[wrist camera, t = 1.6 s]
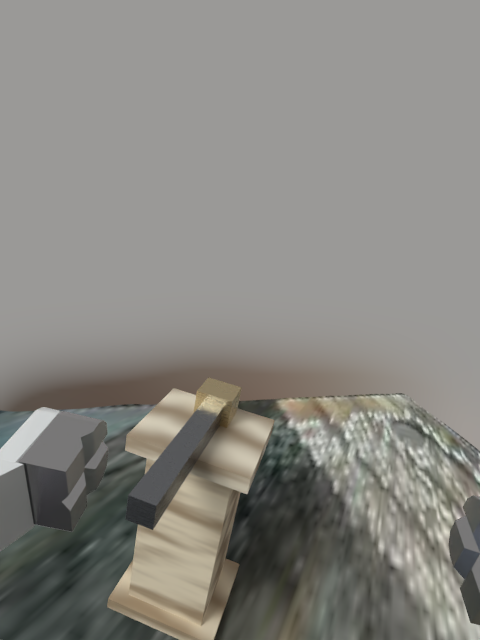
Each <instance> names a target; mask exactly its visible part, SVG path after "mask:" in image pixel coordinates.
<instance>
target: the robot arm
mask: <svg viewBox="0 0 480 640" xmlns="http://www.w3.org/2000/svg"><path fill="white" fill-rule="evenodd" d="M106 435H107V423H106V422H105V421H103V420H99V419H95V418H91V417H86V416H82V415H78V414H73V413H69V412H65V411H58V410H54V409H50V408H46V407H42V408H40V409H38V410H36V411H35V412H34V413H33V414H32V415H31V416H30V417H29V418H28V420H27V421H26V422H25V423H24V424H23V425H22V426H21V427H20V428H19V429H18V430H17V432H16V433H15V434H14V435H13V436H12V437H11V438H10V439H9V440H8V441H7V442H6V444H5V445H4V446H3V447H2V448H1V449H0V551H2V550H3V549H4V548H6V547H7V546H8V545H10V544H11V543H13V542H14V541H15V540H17V539H18V538H20V537H21V536H22V535H24V534H25V533H26V532H28V531H29V530H31V529H32V528H33V527H34V524H35V525H40V526H45V527H50V528H55V529H60V530H65V531H70V532H73V530H74V528H75V526H76V525H77V523H78V521H79V519H80V518H81V516H82V514H83V512H84V511H85V509H86V507H87V495H88V494H89V493H91V492H93V491H94V490H96V489H97V488H98V486H99V484H100V482H101V480H102V478H103V475H104V472H105V469H106V466H107V461H108V447H107V446H106V445H105V443H104V442H103V440H104V438H105V437H106ZM463 509H464V511H465V514H466V516H464V517H462V518H460V519H458V520H456V521H455V523H454V525H453V527H452V529H451V531H450V538H449V550H450V556H451V560H452V563H453V567H454V568H455V569H456V570H457V571H458V573H459V574H460V575H461V576H462V577H463V578H464V581H463V583H462V585H461V587H460V590H461V593H462V597H463V600H464V603H465V606H466V609H467V613H468V616H469V619H470V622H471V623H474V624H478V625H480V497H478V496H471V497H470V498H468V499H467V501H466V502H465V504H464V506H463Z"/></svg>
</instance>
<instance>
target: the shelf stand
mask: <svg viewBox="0 0 480 640" xmlns="http://www.w3.org/2000/svg"><path fill="white" fill-rule="evenodd" d="M195 400H196V395H193V394H190V393H187V392H183V391H181V390H177V389H173V390H172V391H171V392H170V393H169V394H168V395H167V396H166V397H165V398H164V399H163V400H162V401H161V402H160V403H159V404H158V405H156V406H155V407H154V408H153V409H152V410H151V411H150V412H149V413H148V414H147V415H146V416H145V417H144V418H143V419H142V420H141V421H140V422H139V423H138V424H137V425H136V426H135V427H134V428H133V429H132V430H131V431H130V432H129V433H128V434H127V439H126V447H125V451H128V452H131V453H134V454H137V455H139V456H142V457H145V458H147V462H146V469H145V474H146V473H147V471H148V470H149V469H150V468H151V466H152V465H153V464H154V462H155V461H156V460H157V459H158V457H159V456H160V455H161V454H162V452H163V451H164V450H165V449H166V447H167V446H168V445H169V444H170V442H171V441H172V440H173V439H174V437H175V436H176V435H177V434H178V432H179V431H180V430H181V429H182V427H183V426H184V425H185V424H186V422H187V421H188V420H189V418H190V417H191V416H192V415H193V412H194V406H195ZM274 421H275V420H272V419H269V418H266V417H263V416H259V415H256V414H253V413H250V412H247V411H244V410H240V409H237V412H236V414H235V416H234V417H233V419H232V421H231V422H230V424H229V426H228V427H227V428H224V427H221V426H219V427H218V429H217V430H216V432H215V434H214V435H213V437H212V438H211V440H210V441H209V443H208V445H207V446H206V448H205V449H204V451H203V452H202V454H201V456H200V457H199V459H198V460H197V462H196V463H195V465H194V466H193V468H192V470H191V471H190V473H189V474H188V476H187V477H186V479H185V481H184V482H183V484H182V485H181V487H180V488H179V490H178V492H177V493H176V495H175V496H174V498H173V499H172V501H171V503H170V504H169V506H168V507H167V509H166V510H165V512H164V513H163V515H162V517H161V518H160V520H159V521H158V523H157V524H156V526H155V528H154V529H153V530H151V529H149V528H146V527H144V526H141V525H139V524H138V528H137V536H136V543H135V550H134V558H133V561H132V562H131V564H130V565H129V567H128V569H127V570H126V572H125V573H124V575H123V576H122V578H121V580H120V581H119V583H118V584H117V586H116V587H115V589H114V590H113V592H112V594H111V595H110V597H109V598H108V605H107V607H108V608H110V609H112V610H115V611H117V612H119V613H121V614H124V615H126V616H128V617H130V618H132V619H135V620H137V621H139V622H141V623H144V624H146V625H148V626H150V627H152V628H155V629H157V630H159V631H161V632H164V633H166V634H168V635H170V636H172V637H175V638H177V639H179V640H214V639H215V636H216V633H217V630H218V628H219V625H220V622H221V619H222V616H223V613H224V610H225V607H226V604H227V601H228V598H229V595H230V592H231V589H232V586H233V584H234V581H235V578H236V575H237V572H238V568H239V564H238V563H236V562H233V561H230V560H228V559H225V558H226V553H227V549H228V545H229V540H230V536H231V532H232V527H233V523H234V518H235V514H236V510H237V505H238V501H239V497H240V492H242V493H245V494H248V491H249V489H250V486H251V484H252V481H253V479H254V476H255V474H256V471H257V469H258V466H259V464H260V461H261V459H262V456H263V453H264V451H265V448H266V446H267V443H268V441H269V438H270V436H271V433H272V429H273V425H274Z"/></svg>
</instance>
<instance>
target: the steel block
mask: <svg viewBox="0 0 480 640" xmlns="http://www.w3.org/2000/svg"><path fill="white" fill-rule="evenodd" d="M240 393H241V387H238V386H235V385H232V384H228V383H225V382H222V381H218V380H215V379H212V378H208V379H207V380H206V381H205V382H204V383H203V385H202V386H201V387H200V388H199V389H198V390H197V394H196V400H195V406H194V412H193V415H192V416H191V417H190V418H189V420H188V421H187V422H186V424H185V425H184V426H183V427H182V429H181V430H180V431H179V432H178V434H177V435H176V436H175V437H174V439H173V440H172V441H171V442H170V444H169V445H168V446H167V447H166V449H165V450H164V451H163V452H162V454H161V455H160V456H159V457H158V459H157V460H156V461H155V462H154V464H153V465H152V466H151V468H150V469H149V470H148V471H147V473H146V474H145V475H144V476H143V478H142V479H141V480H140V481H139V483H138V484H137V485H136V486H135V488H134V489H133V490H132V491H131V493H130V494H129V495H128V503H127V511H126V520H129V521H131V522H134V523H136V524H139V525H141V526H144V527H146V528H149V529H151V530H153V529H154V528H155V526H156V524H157V523H158V521H159V520H160V518H161V517H162V515H163V513H164V512H165V510H166V509H167V507H168V506H169V504H170V503H171V501H172V499H173V498H174V496H175V495H176V493H177V492H178V490H179V488H180V487H181V485H182V484H183V482H184V481H185V479H186V477H187V476H188V474H189V473H190V471H191V470H192V468H193V466H194V465H195V463H196V462H197V460H198V459H199V457H200V456H201V454H202V452H203V451H204V449H205V448H206V446H207V445H208V443H209V441H210V440H211V438H212V437H213V435H214V434H215V432H216V430H217V429H218V427H219V426H221V427H224V428H227V427H228V426H229V424H230V422H231V421H232V419H233V417H234V416H235V414H236V412H237V407H238V403H239V398H240Z"/></svg>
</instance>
